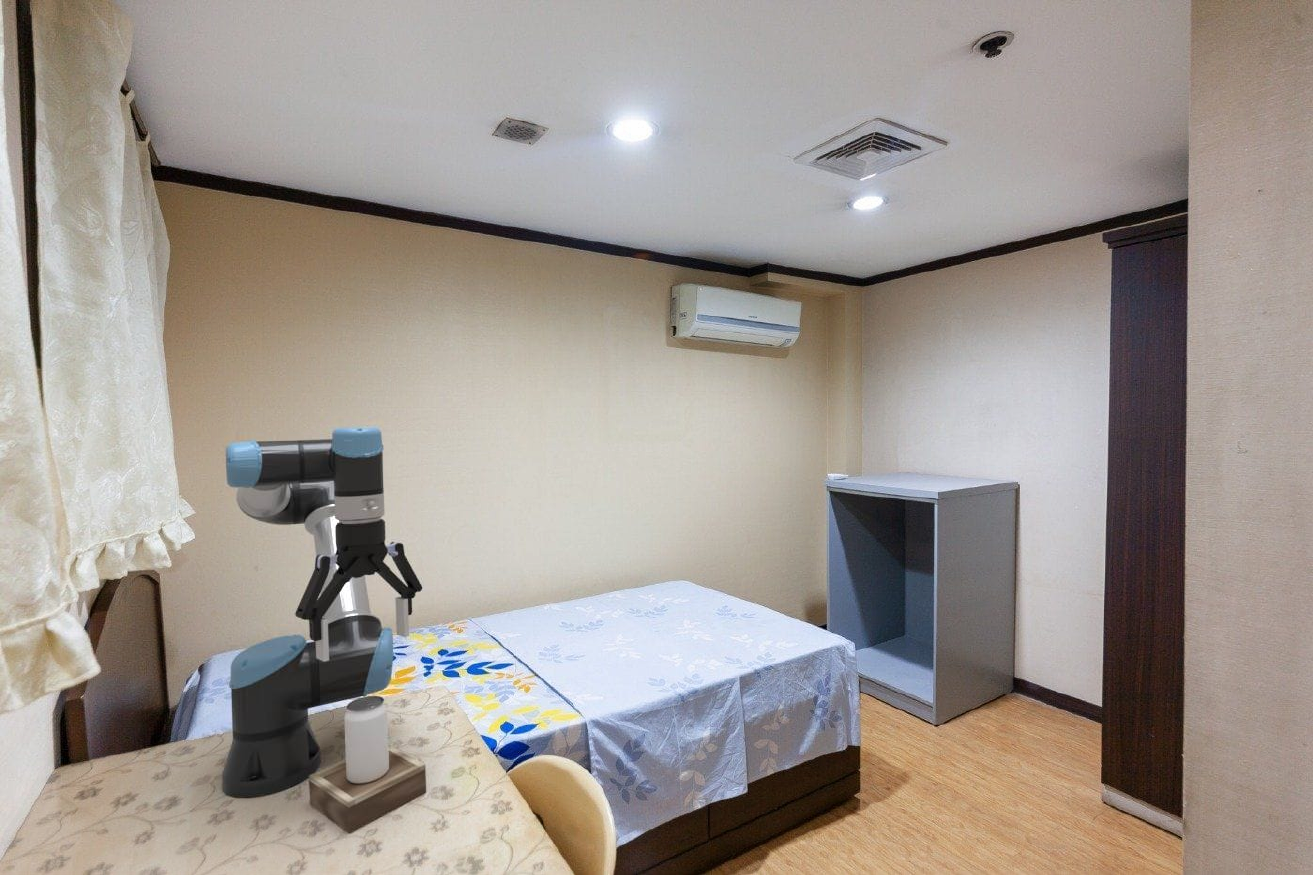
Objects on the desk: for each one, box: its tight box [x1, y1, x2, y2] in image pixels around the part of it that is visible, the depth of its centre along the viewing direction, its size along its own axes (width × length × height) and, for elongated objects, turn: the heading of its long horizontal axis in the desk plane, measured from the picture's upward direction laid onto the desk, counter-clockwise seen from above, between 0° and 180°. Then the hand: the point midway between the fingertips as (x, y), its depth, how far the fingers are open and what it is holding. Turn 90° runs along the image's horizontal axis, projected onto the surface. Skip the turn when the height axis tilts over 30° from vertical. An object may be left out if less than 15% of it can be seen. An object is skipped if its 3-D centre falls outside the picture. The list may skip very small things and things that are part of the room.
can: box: [344, 695, 389, 784], centre depth 105 cm, size 6×6×12 cm
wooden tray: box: [308, 744, 427, 834], centre depth 105 cm, size 13×13×5 cm
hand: (364, 646), depth 105 cm, fingers open, 13 cm apart
